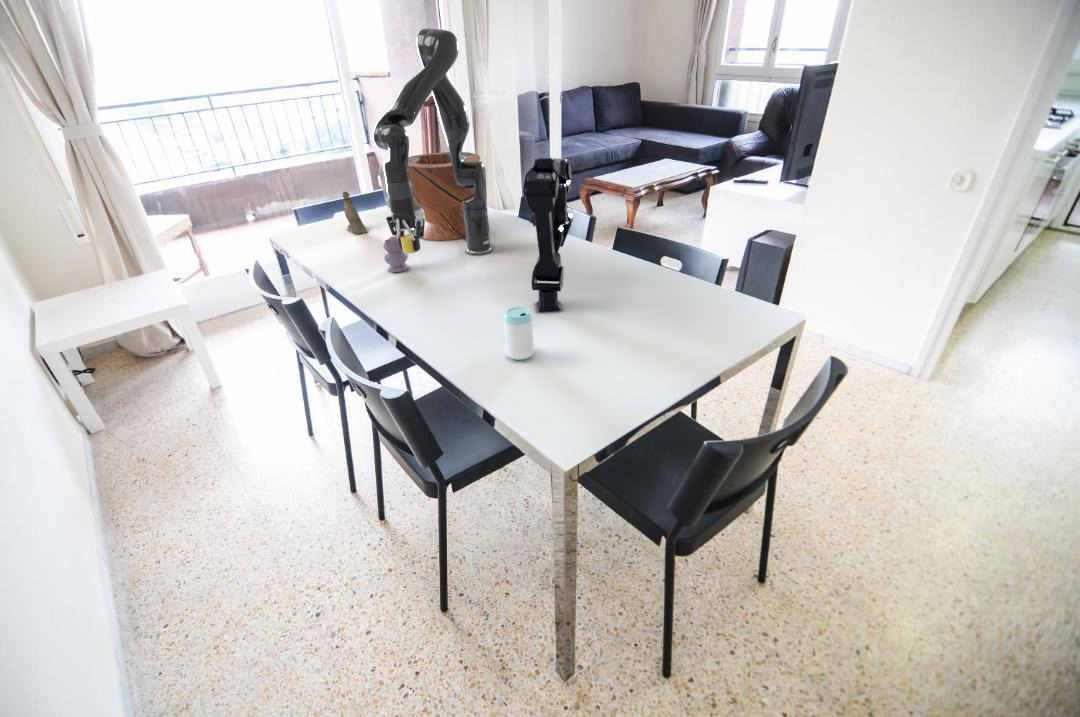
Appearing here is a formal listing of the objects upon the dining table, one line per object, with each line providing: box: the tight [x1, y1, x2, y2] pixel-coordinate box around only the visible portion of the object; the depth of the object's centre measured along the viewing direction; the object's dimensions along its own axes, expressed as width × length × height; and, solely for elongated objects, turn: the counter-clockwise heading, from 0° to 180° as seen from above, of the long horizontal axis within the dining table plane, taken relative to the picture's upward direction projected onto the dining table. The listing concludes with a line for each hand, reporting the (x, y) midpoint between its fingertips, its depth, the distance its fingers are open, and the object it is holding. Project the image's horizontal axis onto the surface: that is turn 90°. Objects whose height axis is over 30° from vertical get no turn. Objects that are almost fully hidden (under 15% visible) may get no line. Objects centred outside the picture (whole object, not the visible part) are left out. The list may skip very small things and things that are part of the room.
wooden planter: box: [408, 151, 481, 241], centre depth 212 cm, size 34×35×29 cm
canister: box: [401, 233, 416, 254], centre depth 159 cm, size 5×5×5 cm
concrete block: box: [378, 165, 421, 212], centre depth 245 cm, size 27×9×20 cm, turn 39°
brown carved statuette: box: [342, 191, 368, 235], centre depth 221 cm, size 12×6×18 cm, turn 37°
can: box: [503, 306, 535, 361], centre depth 123 cm, size 7×7×12 cm
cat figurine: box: [382, 235, 409, 273], centre depth 178 cm, size 8×8×12 cm
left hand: (410, 249), depth 160 cm, fingers closed on canister, 4 cm apart
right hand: (558, 251), depth 160 cm, fingers open, 9 cm apart
